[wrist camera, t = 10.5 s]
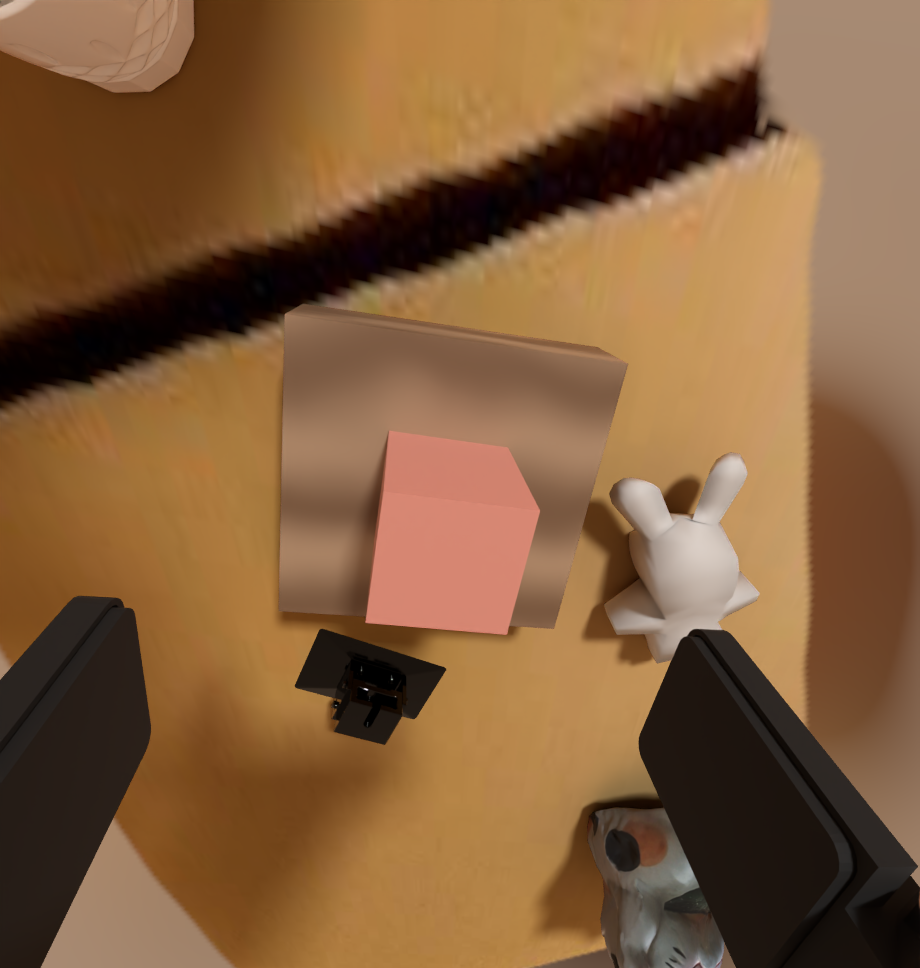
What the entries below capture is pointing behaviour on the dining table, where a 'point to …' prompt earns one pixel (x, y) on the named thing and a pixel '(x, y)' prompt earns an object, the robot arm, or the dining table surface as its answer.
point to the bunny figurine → (679, 561)
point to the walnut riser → (436, 413)
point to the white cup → (101, 39)
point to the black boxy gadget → (367, 684)
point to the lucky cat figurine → (650, 893)
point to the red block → (449, 535)
